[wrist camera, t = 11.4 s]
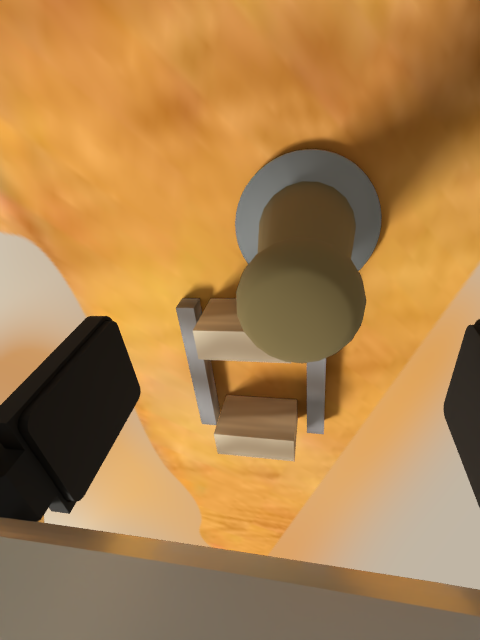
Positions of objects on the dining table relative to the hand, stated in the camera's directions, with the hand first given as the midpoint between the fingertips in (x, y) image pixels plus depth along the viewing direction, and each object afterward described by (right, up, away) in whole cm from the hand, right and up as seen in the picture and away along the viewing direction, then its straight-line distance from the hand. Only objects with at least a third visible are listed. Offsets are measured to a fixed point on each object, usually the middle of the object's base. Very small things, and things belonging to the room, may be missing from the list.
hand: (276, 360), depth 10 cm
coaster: (+3, +7, +13) cm, 15 cm away
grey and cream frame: (0, -3, +20) cm, 20 cm away
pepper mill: (+3, +7, +13) cm, 15 cm away
